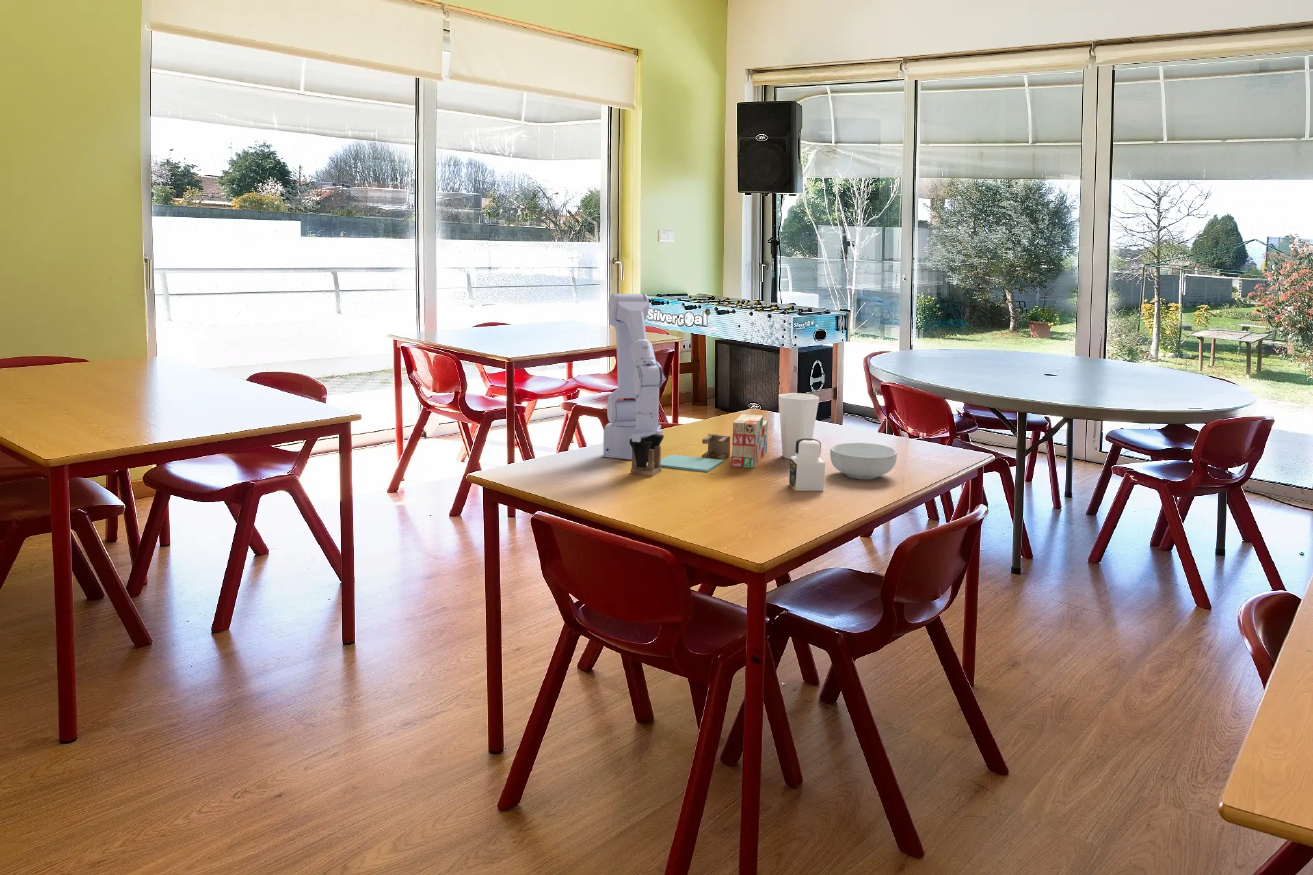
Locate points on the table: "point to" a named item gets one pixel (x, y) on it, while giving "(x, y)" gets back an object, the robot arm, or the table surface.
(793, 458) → the medicine bottle
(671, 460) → the mat
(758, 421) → the stack of blocks
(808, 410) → the cup
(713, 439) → the toppled stool
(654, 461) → the upturned stool
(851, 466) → the cereal bowl
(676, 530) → the table surface
